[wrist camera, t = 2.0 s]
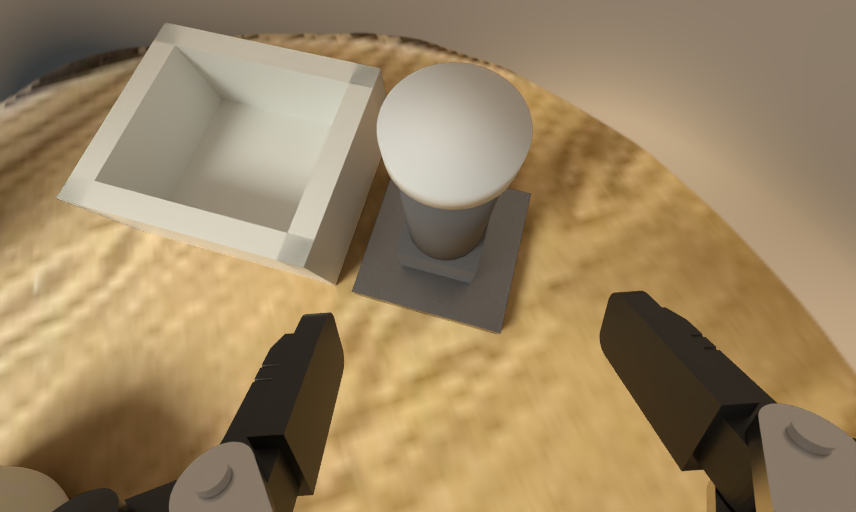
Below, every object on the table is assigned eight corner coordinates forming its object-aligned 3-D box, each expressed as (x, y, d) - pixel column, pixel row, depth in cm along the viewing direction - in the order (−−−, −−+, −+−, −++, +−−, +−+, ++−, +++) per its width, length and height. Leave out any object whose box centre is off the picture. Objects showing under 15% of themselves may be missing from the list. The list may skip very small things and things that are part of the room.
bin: (142, 231, 25) (56, 198, 19) (219, 86, 28) (164, 22, 22) (335, 285, 23) (303, 267, 18) (392, 126, 26) (380, 68, 21)
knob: (399, 265, 22) (355, 174, 10) (419, 199, 23) (402, 49, 11) (471, 285, 21) (514, 214, 10) (488, 216, 23) (545, 79, 11)
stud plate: (357, 294, 23) (339, 283, 19) (398, 171, 25) (391, 137, 21) (496, 334, 22) (510, 331, 18) (525, 202, 24) (544, 173, 20)
